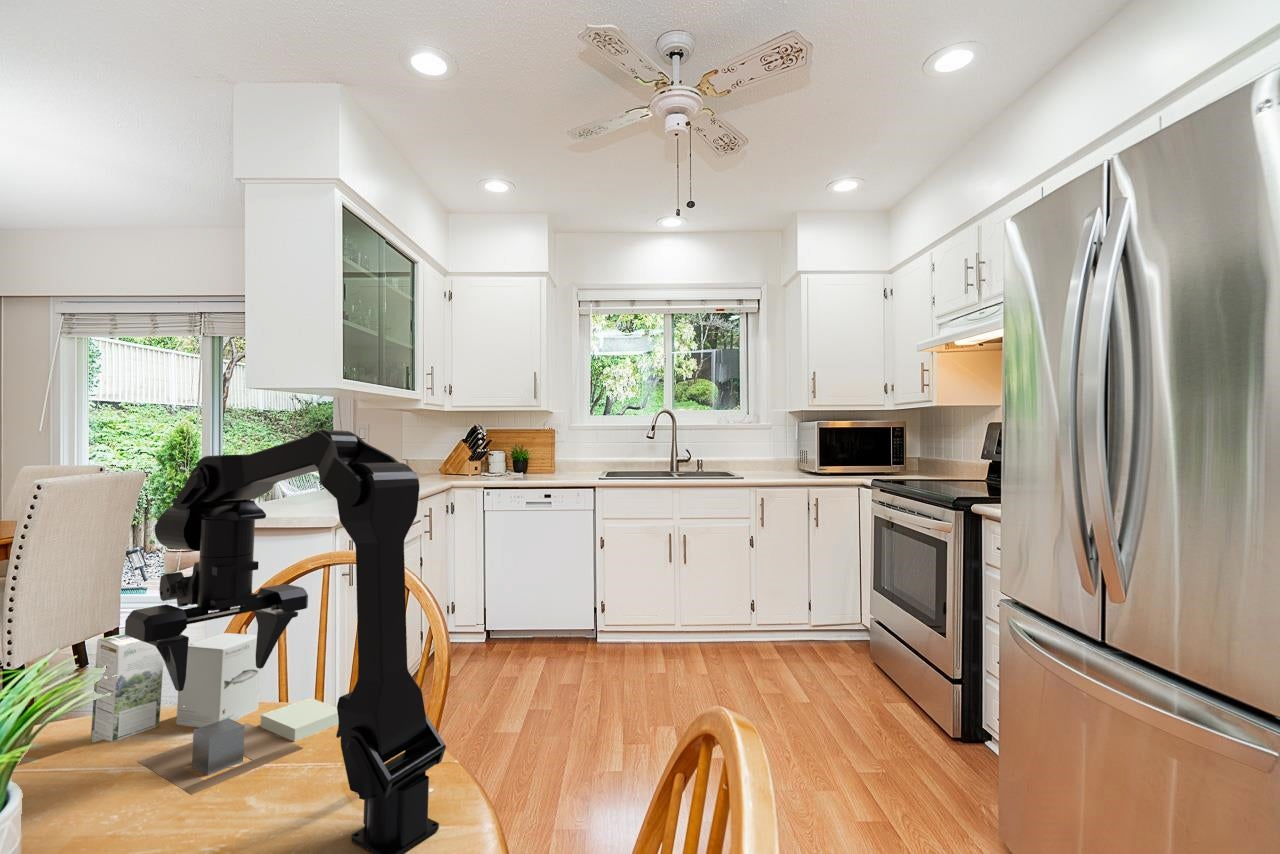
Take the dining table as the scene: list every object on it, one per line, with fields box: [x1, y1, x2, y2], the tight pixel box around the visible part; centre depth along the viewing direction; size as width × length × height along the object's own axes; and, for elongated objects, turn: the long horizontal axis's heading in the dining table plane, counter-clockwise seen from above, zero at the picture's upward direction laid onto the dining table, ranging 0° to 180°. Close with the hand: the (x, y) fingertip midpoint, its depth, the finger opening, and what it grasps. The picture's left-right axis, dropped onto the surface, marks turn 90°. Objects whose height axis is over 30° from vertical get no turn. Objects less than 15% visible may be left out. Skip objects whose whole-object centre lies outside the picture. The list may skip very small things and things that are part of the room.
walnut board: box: [137, 722, 304, 795], centre depth 79 cm, size 14×13×2 cm
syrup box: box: [90, 633, 164, 744], centre depth 86 cm, size 6×6×14 cm
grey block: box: [191, 718, 245, 776], centre depth 76 cm, size 4×4×6 cm
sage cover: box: [260, 697, 339, 742], centre depth 88 cm, size 8×7×4 cm
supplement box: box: [175, 632, 261, 728], centre depth 90 cm, size 7×7×13 cm
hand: (221, 678), depth 77 cm, fingers open, 9 cm apart
